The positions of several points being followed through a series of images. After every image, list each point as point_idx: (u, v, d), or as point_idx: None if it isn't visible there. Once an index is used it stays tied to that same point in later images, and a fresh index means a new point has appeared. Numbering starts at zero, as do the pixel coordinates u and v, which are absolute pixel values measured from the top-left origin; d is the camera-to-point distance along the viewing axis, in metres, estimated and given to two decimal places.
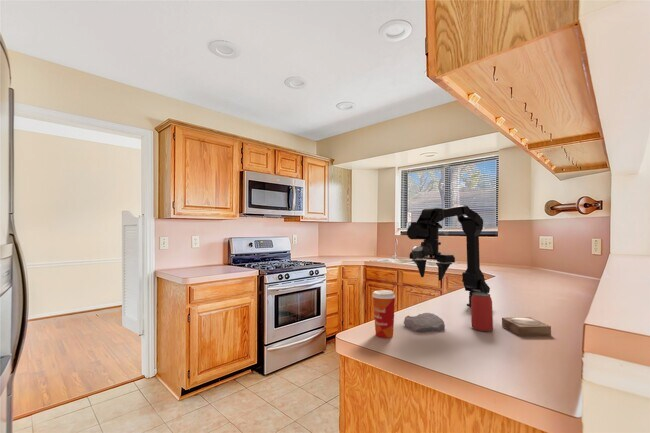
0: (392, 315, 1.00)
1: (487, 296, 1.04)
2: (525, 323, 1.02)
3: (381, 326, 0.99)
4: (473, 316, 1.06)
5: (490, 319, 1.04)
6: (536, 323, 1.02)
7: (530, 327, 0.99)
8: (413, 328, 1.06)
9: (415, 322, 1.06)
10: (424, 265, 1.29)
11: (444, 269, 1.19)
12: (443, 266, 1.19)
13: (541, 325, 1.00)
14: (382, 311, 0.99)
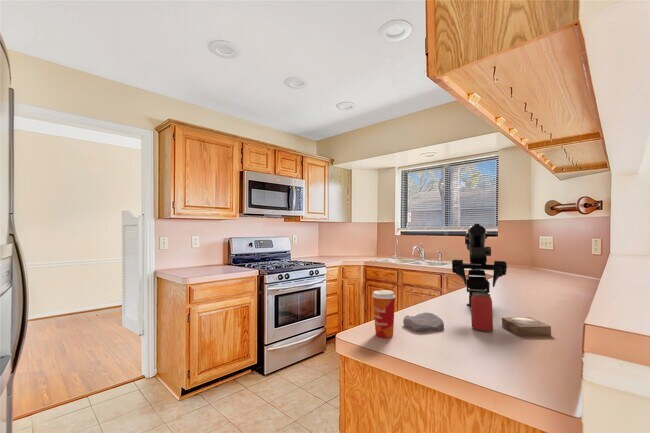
0: (392, 315, 1.00)
1: (487, 296, 1.04)
2: (525, 323, 1.02)
3: (381, 326, 0.99)
4: (473, 316, 1.06)
5: (490, 319, 1.04)
6: (536, 323, 1.02)
7: (530, 327, 0.99)
8: (412, 328, 1.06)
9: (414, 322, 1.06)
10: None
11: (496, 278, 1.16)
12: None
13: (541, 325, 1.00)
14: (382, 311, 0.99)
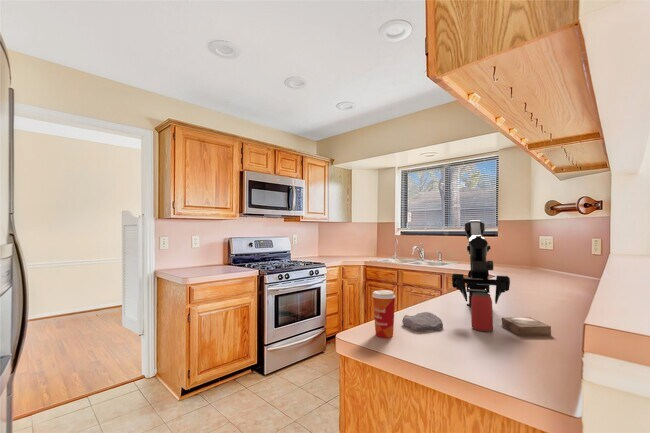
0: (392, 315, 1.00)
1: (487, 296, 1.04)
2: (525, 323, 1.02)
3: (381, 326, 0.99)
4: (473, 316, 1.06)
5: (490, 319, 1.04)
6: (536, 323, 1.02)
7: (530, 327, 0.99)
8: (412, 327, 1.07)
9: (413, 321, 1.07)
10: None
11: (499, 294, 1.09)
12: None
13: (541, 325, 1.00)
14: (382, 311, 0.99)
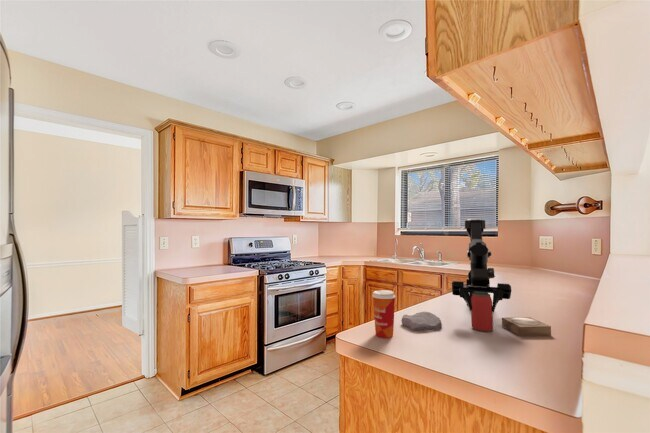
0: (392, 315, 1.00)
1: (487, 296, 1.04)
2: (525, 323, 1.02)
3: (381, 326, 0.99)
4: (473, 316, 1.06)
5: (490, 319, 1.04)
6: (536, 323, 1.02)
7: (530, 327, 0.99)
8: (411, 327, 1.07)
9: (413, 321, 1.07)
10: None
11: None
12: None
13: (541, 325, 1.00)
14: (382, 311, 0.99)
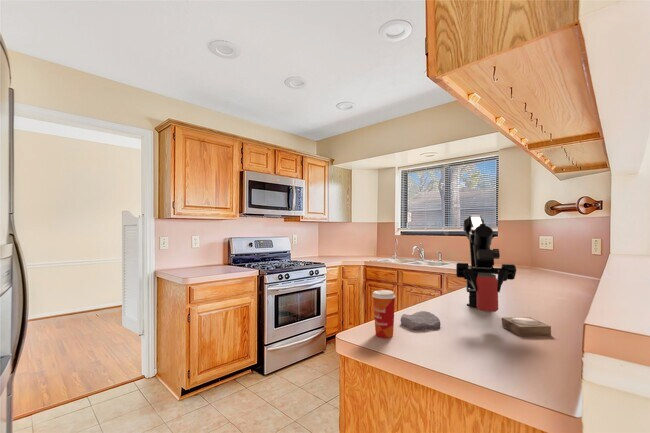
0: (392, 315, 1.00)
1: (493, 276, 1.04)
2: (525, 323, 1.02)
3: (381, 326, 0.99)
4: (479, 297, 1.06)
5: (496, 299, 1.04)
6: (536, 323, 1.02)
7: (530, 327, 0.99)
8: (410, 326, 1.08)
9: (411, 320, 1.08)
10: None
11: None
12: None
13: (541, 325, 1.00)
14: (382, 311, 0.99)
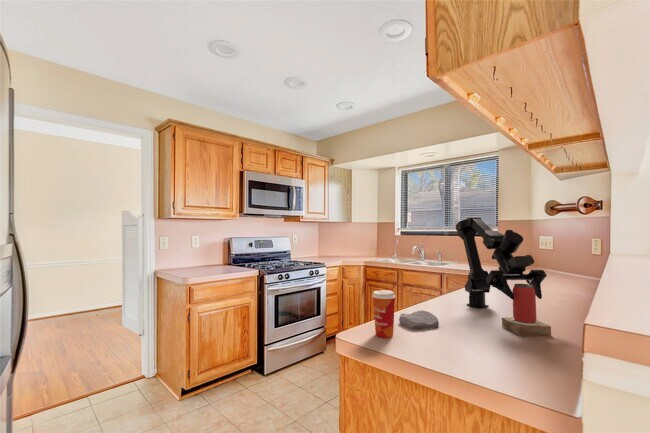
0: (392, 315, 1.00)
1: (532, 287, 1.03)
2: (525, 323, 1.02)
3: (381, 326, 0.99)
4: (520, 309, 1.03)
5: (535, 310, 1.03)
6: (536, 323, 1.02)
7: (530, 327, 0.99)
8: (408, 325, 1.09)
9: (410, 319, 1.09)
10: None
11: None
12: None
13: (541, 325, 1.00)
14: (382, 311, 0.99)
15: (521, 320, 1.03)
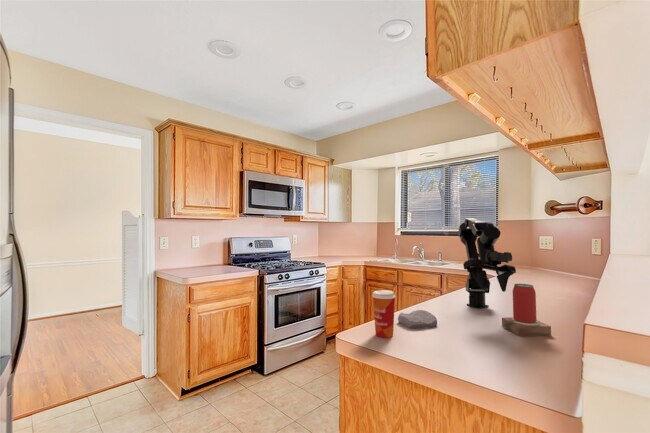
0: (392, 315, 1.00)
1: (533, 287, 1.03)
2: (525, 323, 1.02)
3: (381, 326, 0.99)
4: (520, 309, 1.03)
5: None
6: (536, 323, 1.02)
7: (530, 327, 0.99)
8: (407, 325, 1.10)
9: (409, 319, 1.09)
10: None
11: None
12: None
13: (541, 325, 1.00)
14: (382, 311, 0.99)
15: (521, 320, 1.03)
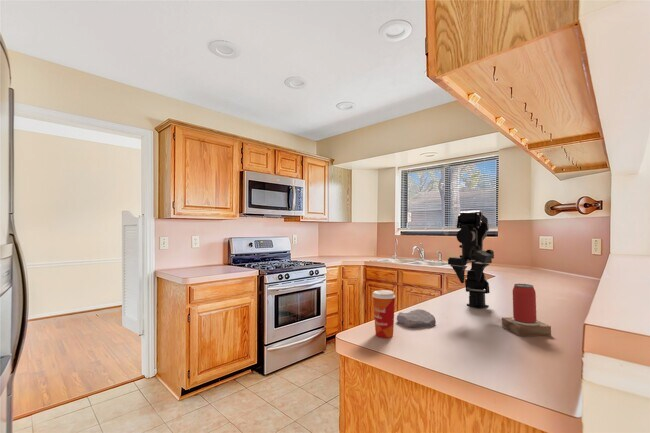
0: (392, 315, 1.00)
1: (532, 287, 1.03)
2: (525, 323, 1.02)
3: (381, 326, 0.99)
4: (520, 309, 1.03)
5: None
6: (536, 323, 1.02)
7: (530, 327, 0.99)
8: (406, 324, 1.10)
9: (408, 318, 1.10)
10: None
11: None
12: None
13: (541, 325, 1.00)
14: (382, 311, 0.99)
15: (521, 320, 1.03)
